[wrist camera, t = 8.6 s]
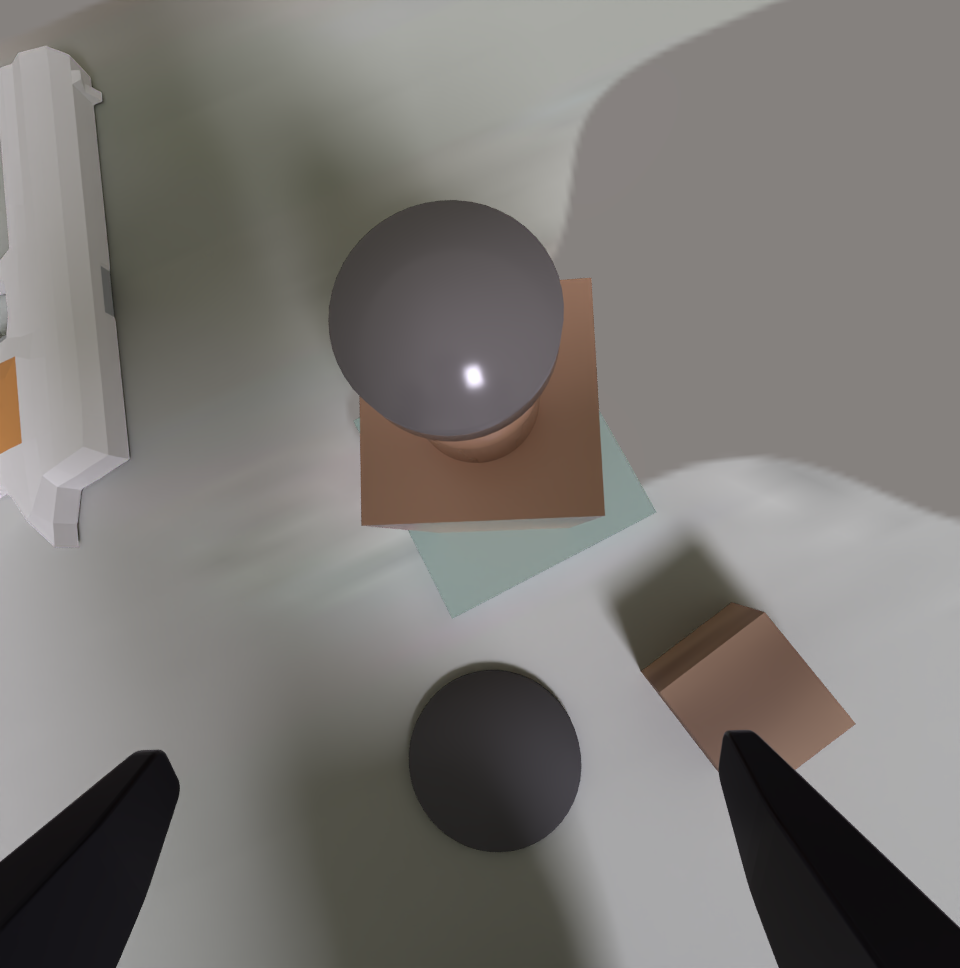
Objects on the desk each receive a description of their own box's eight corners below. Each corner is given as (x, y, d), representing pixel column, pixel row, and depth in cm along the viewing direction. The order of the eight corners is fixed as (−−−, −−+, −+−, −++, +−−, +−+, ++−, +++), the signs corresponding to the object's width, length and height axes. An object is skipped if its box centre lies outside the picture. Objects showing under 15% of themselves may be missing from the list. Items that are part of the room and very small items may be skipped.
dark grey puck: (612, 799, 20) (613, 803, 19) (458, 877, 20) (456, 882, 20) (529, 640, 21) (529, 642, 20) (382, 716, 21) (380, 719, 20)
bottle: (569, 527, 20) (656, 498, 6) (438, 532, 20) (255, 515, 7) (562, 398, 20) (630, 113, 7) (434, 406, 21) (257, 148, 7)
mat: (651, 513, 21) (656, 512, 20) (454, 615, 21) (452, 618, 20) (546, 325, 22) (546, 317, 21) (359, 425, 22) (353, 420, 21)
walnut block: (806, 696, 20) (855, 723, 17) (714, 766, 20) (747, 806, 17) (730, 601, 20) (764, 612, 17) (640, 670, 20) (659, 692, 17)
